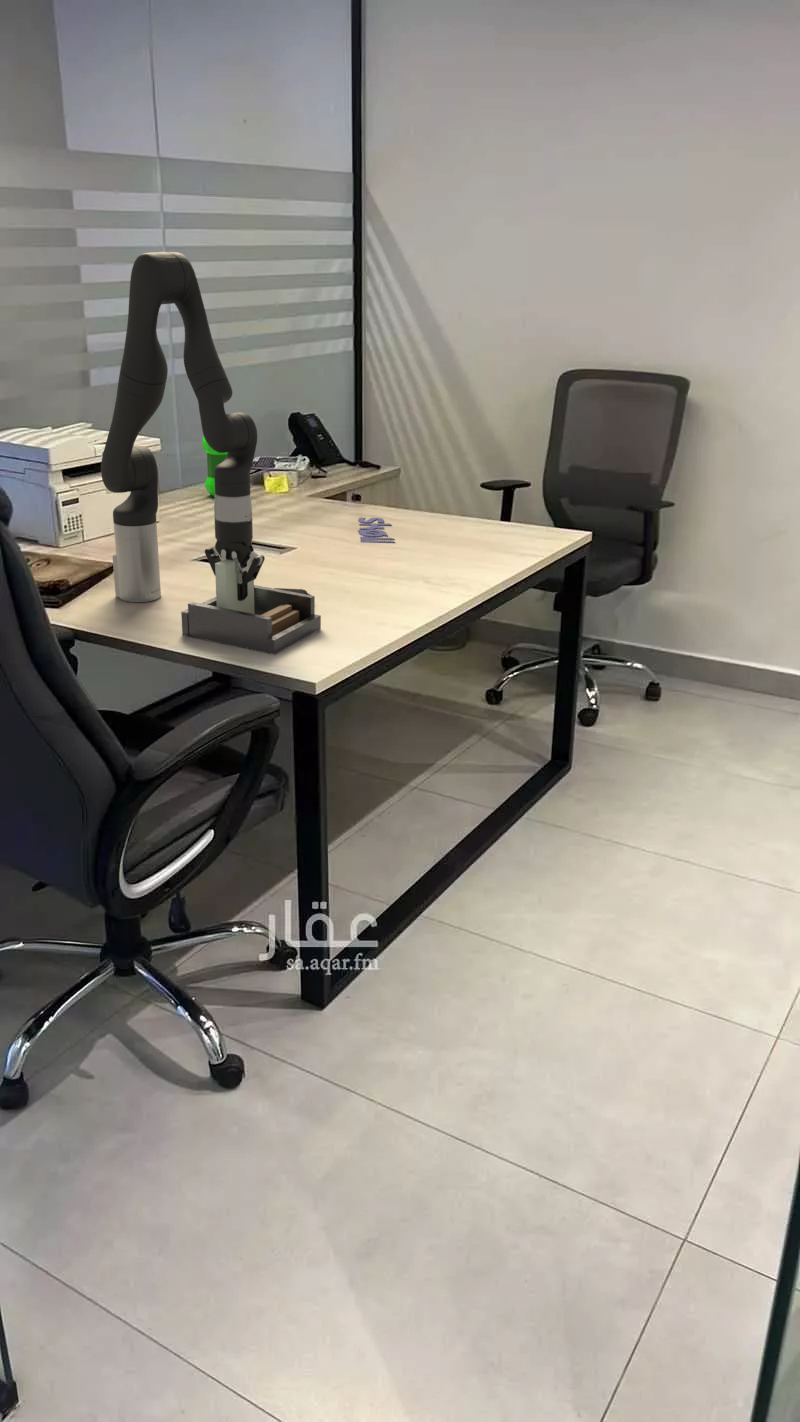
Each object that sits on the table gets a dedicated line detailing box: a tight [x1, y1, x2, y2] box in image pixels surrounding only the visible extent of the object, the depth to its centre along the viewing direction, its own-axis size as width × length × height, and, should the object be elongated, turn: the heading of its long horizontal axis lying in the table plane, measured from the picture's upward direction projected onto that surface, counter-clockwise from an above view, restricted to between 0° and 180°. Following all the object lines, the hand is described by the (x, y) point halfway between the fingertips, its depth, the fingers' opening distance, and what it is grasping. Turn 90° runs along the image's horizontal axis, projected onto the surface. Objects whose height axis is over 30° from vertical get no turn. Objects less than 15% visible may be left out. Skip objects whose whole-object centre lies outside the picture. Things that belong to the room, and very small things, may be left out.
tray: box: [180, 584, 322, 656], centre depth 221 cm, size 22×18×7 cm
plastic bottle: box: [202, 436, 228, 498], centre depth 335 cm, size 10×10×25 cm
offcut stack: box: [262, 605, 299, 636], centre depth 219 cm, size 4×12×6 cm, turn 154°
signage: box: [357, 517, 396, 544], centre depth 305 cm, size 28×1×10 cm
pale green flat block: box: [214, 558, 255, 614], centre depth 221 cm, size 2×10×14 cm, turn 154°
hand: (235, 598), depth 221 cm, fingers closed on pale green flat block, 2 cm apart
